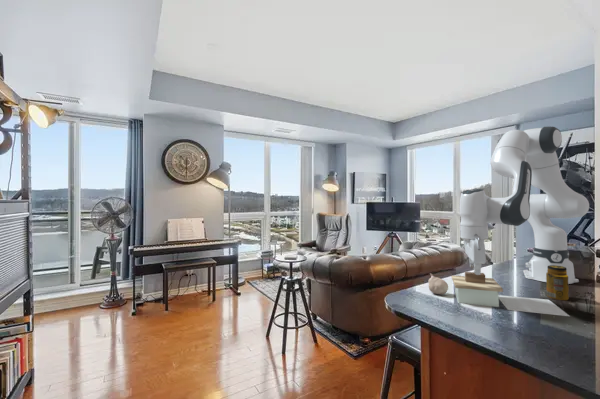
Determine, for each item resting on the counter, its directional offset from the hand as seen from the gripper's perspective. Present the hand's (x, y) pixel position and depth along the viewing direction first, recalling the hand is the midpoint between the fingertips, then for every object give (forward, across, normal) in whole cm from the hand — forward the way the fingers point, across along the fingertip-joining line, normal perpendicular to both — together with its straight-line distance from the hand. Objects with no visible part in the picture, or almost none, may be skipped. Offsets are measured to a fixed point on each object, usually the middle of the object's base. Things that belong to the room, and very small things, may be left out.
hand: (475, 271), depth 105 cm
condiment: (+11, +11, -27) cm, 31 cm away
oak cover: (+5, 0, 0) cm, 5 cm away
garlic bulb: (+11, +4, +12) cm, 17 cm away
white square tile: (+11, 0, -16) cm, 19 cm away
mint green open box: (+11, 0, 0) cm, 11 cm away
